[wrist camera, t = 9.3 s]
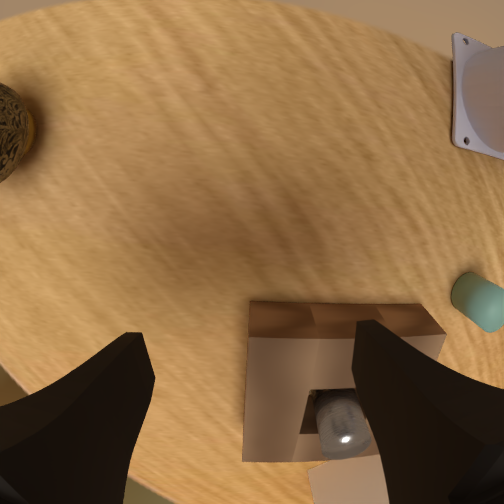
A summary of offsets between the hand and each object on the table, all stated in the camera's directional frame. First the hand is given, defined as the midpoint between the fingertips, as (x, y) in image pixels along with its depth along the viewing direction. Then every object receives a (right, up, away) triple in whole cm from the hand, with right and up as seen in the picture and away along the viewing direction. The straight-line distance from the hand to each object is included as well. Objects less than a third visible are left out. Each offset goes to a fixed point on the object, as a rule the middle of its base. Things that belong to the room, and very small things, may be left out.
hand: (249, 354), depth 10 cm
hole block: (+6, -6, +12) cm, 14 cm away
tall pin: (+6, -6, +12) cm, 14 cm away
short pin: (+16, 0, +9) cm, 19 cm away
